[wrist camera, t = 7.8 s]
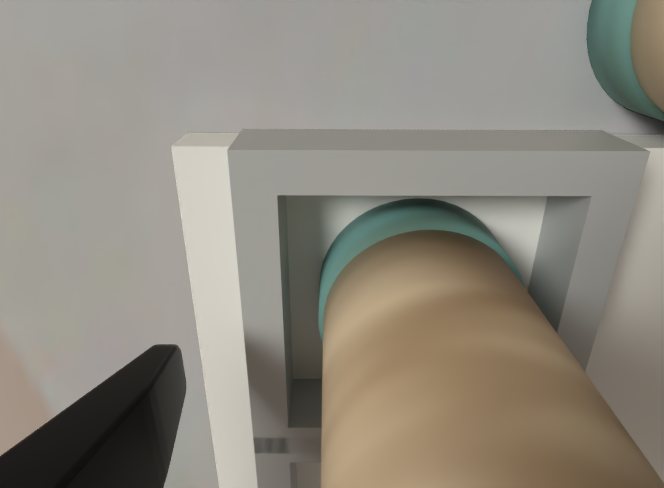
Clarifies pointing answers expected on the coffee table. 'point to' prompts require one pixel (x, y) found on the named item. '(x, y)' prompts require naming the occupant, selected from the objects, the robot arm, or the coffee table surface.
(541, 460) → the tan teal rounded cylinder
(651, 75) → the tan domed cylinder
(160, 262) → the coffee table surface
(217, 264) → the socket board
